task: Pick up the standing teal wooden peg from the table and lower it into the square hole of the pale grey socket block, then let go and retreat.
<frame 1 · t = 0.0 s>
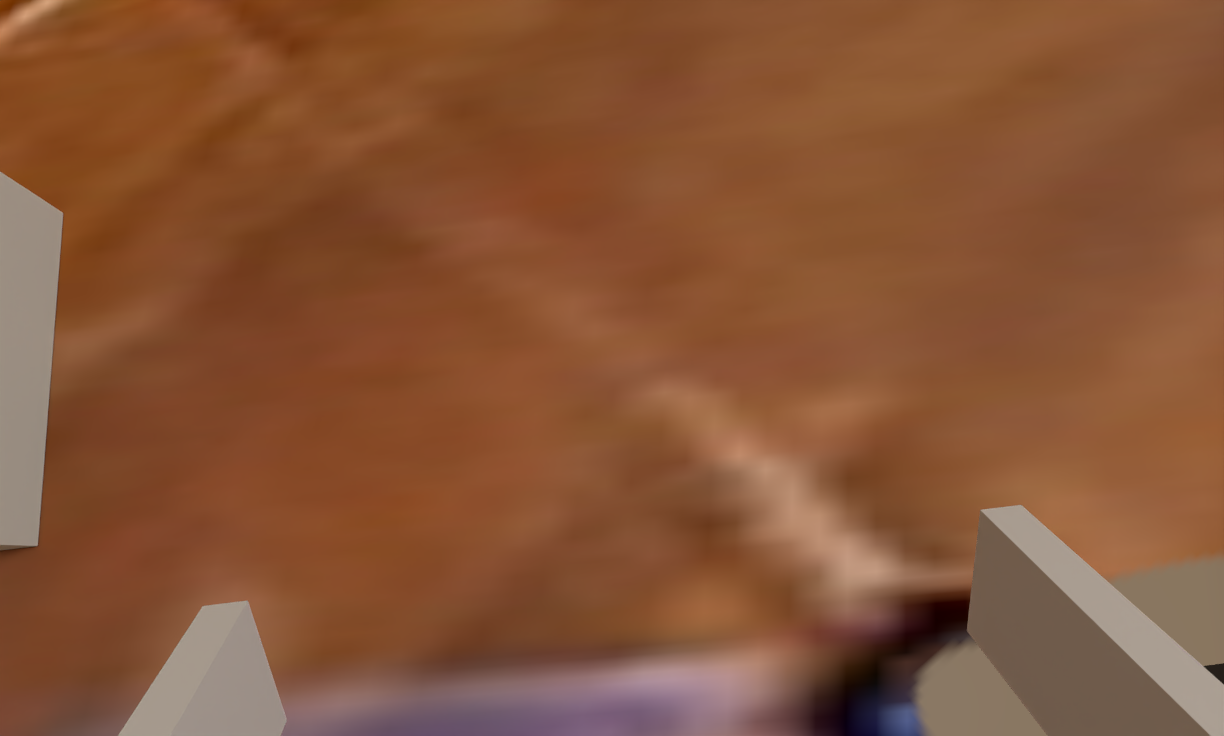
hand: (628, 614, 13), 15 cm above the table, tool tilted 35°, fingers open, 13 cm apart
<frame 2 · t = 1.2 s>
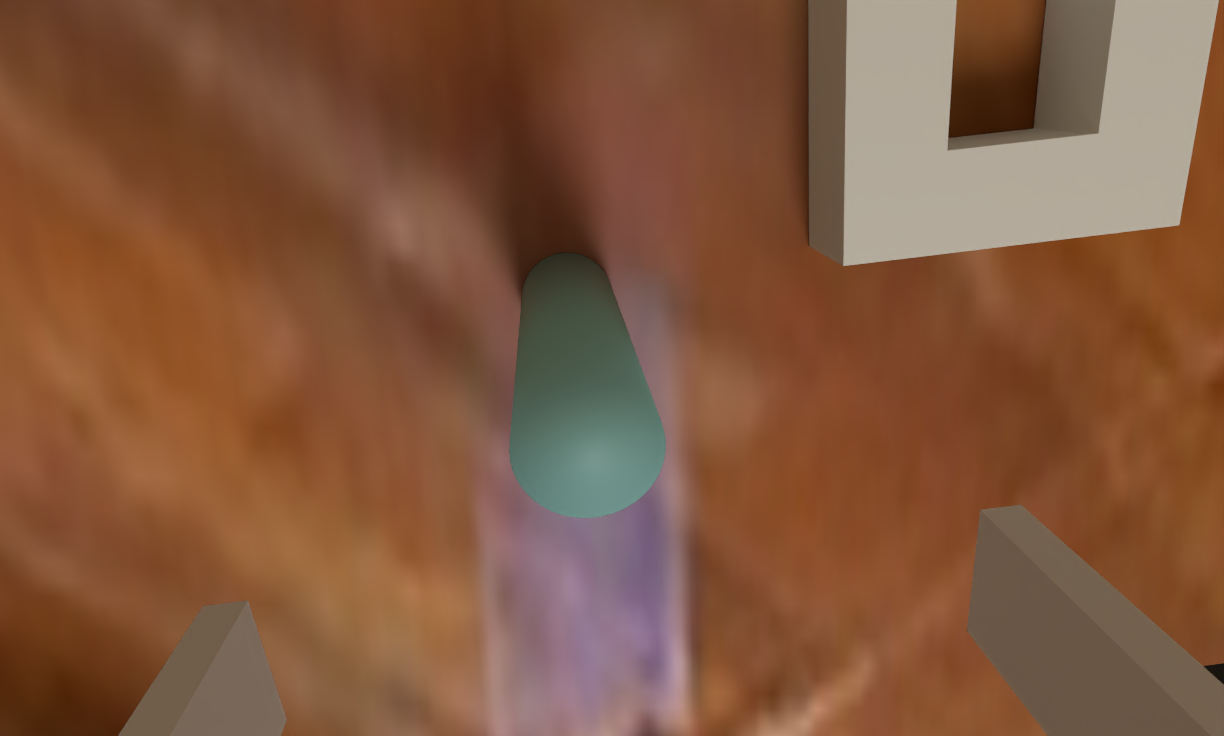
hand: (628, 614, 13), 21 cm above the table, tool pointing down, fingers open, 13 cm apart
socket block: (972, 61, 31), on the table
peg: (567, 297, 33), on the table
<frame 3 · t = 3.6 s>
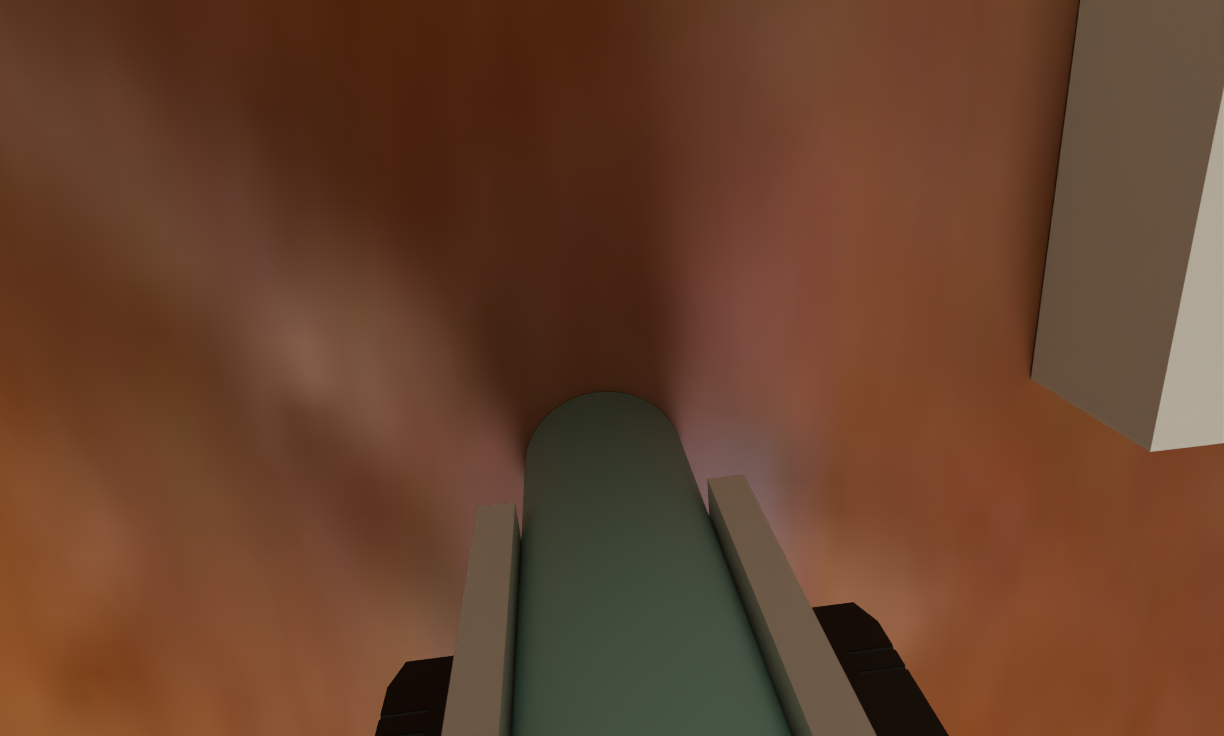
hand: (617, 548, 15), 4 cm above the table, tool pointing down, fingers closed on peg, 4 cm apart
peg: (604, 464, 19), on the table, touching gripper
when the fingers open (6 cm above the table, at t = 8.2 s): peg drops 1 cm, resting in socket block.
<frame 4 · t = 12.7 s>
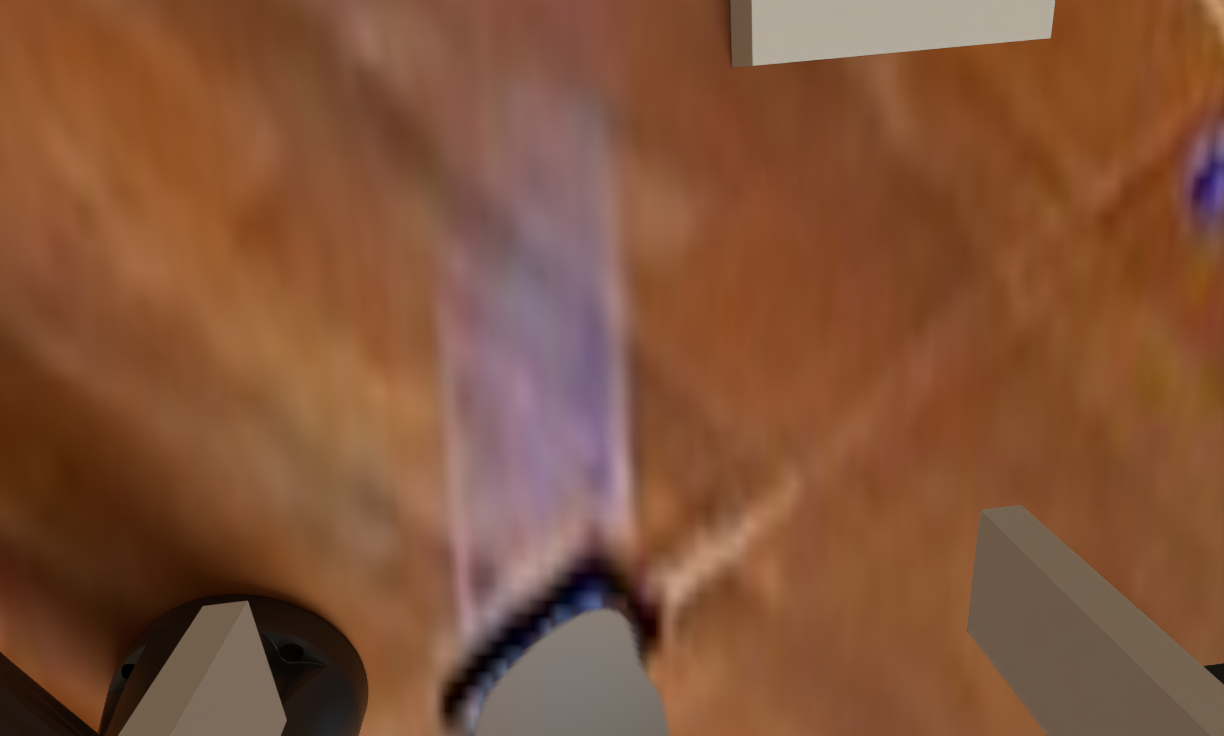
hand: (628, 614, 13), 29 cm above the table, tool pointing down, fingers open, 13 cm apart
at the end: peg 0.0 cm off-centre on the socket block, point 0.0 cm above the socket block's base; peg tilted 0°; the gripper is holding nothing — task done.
